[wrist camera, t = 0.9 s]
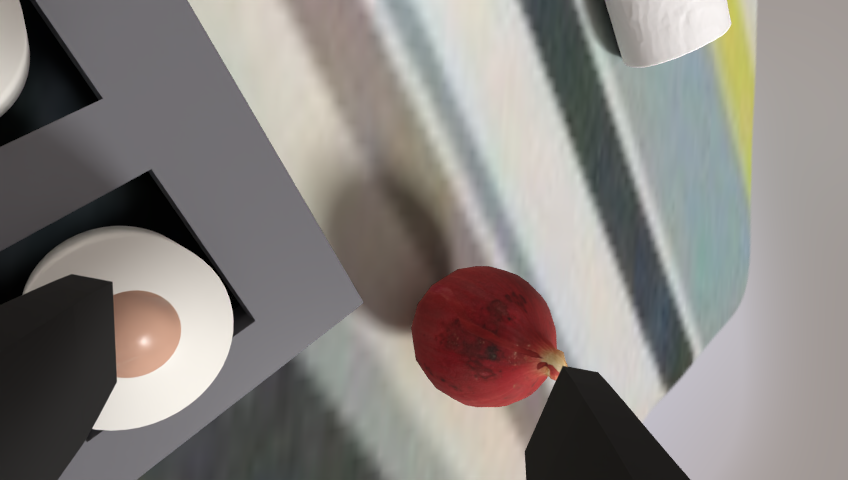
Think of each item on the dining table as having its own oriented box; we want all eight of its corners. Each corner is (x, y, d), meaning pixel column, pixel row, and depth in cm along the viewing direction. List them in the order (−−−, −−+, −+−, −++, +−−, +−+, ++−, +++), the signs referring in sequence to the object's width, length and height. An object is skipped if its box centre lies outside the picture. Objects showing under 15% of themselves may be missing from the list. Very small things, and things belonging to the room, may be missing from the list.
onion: (366, 369, 25) (478, 442, 18) (397, 244, 25) (519, 270, 19) (465, 380, 28) (591, 444, 22) (492, 268, 28) (625, 299, 22)
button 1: (93, 420, 15) (101, 470, 13) (-25, 290, 13) (-44, 318, 11) (235, 320, 17) (266, 346, 14) (147, 194, 15) (164, 199, 13)
